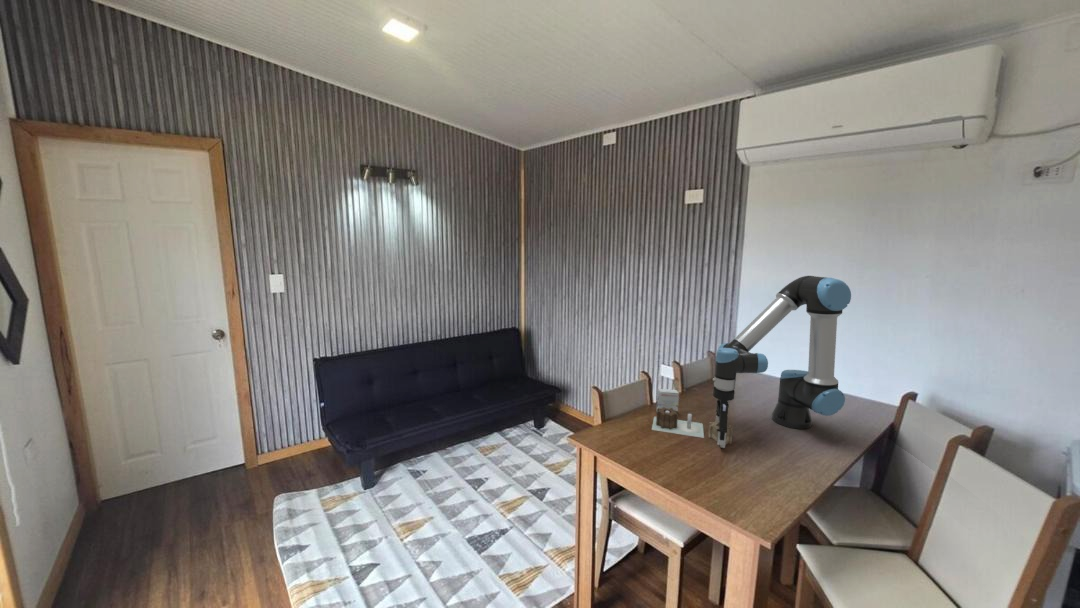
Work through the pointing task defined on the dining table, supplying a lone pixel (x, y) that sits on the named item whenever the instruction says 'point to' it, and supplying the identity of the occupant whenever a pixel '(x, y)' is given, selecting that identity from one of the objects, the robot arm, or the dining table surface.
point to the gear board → (682, 427)
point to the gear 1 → (667, 418)
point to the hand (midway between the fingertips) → (719, 439)
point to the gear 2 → (714, 433)
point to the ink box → (668, 399)
